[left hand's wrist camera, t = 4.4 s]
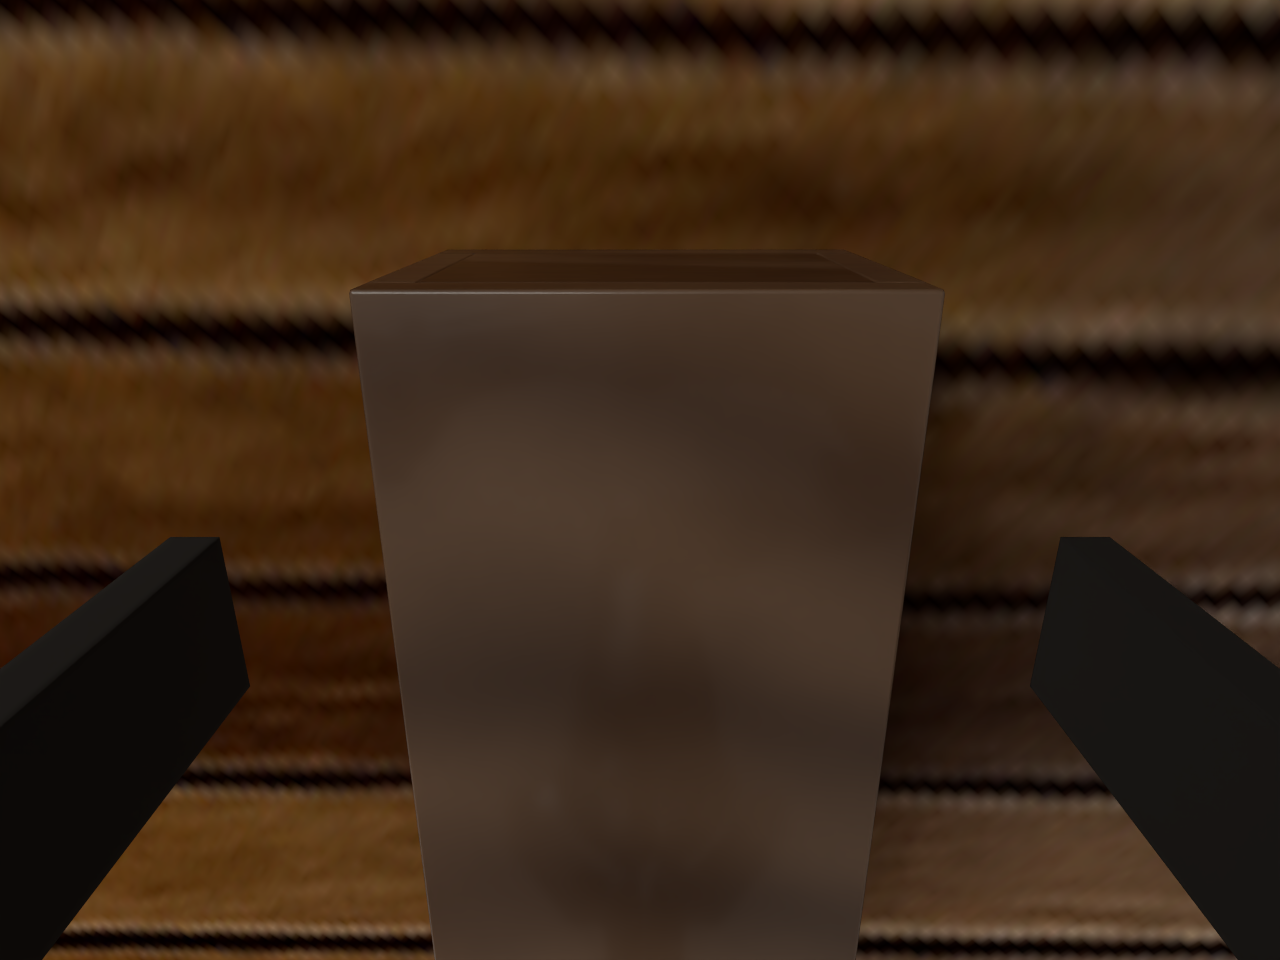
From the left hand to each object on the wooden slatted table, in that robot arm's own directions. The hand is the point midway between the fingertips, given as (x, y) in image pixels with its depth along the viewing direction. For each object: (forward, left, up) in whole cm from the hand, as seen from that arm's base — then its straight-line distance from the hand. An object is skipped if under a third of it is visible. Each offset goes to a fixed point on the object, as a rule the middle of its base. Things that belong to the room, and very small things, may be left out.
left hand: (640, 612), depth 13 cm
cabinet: (0, +5, -13) cm, 14 cm away
